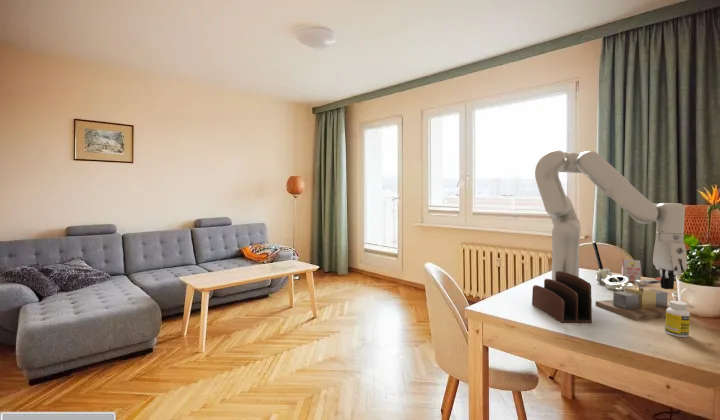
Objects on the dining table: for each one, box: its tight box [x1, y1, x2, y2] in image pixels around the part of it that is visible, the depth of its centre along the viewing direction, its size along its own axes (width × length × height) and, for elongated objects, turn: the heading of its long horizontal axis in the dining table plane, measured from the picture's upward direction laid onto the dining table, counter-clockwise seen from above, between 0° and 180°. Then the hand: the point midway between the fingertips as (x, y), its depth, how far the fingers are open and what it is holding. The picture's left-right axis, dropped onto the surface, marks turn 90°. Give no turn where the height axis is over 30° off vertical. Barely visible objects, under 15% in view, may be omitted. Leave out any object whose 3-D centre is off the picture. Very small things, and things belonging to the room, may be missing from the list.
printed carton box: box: [620, 259, 642, 283], centre depth 170 cm, size 4×7×10 cm, turn 64°
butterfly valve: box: [592, 241, 634, 292], centre depth 159 cm, size 9×20×17 cm
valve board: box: [595, 299, 671, 321], centre depth 130 cm, size 22×16×2 cm
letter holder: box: [531, 271, 593, 324], centre depth 127 cm, size 10×20×14 cm, turn 2°
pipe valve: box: [612, 285, 669, 310], centre depth 129 cm, size 18×6×8 cm, turn 102°
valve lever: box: [634, 276, 661, 287], centre depth 131 cm, size 15×3×2 cm, turn 106°
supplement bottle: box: [664, 300, 691, 338], centre depth 108 cm, size 5×5×10 cm
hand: (667, 288), depth 128 cm, fingers closed
